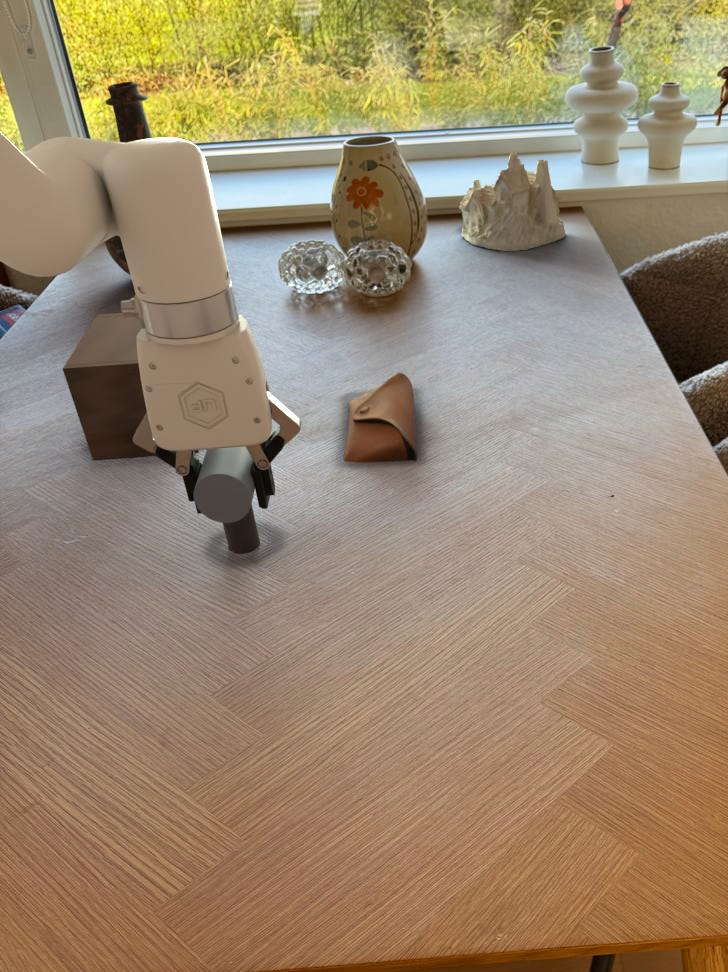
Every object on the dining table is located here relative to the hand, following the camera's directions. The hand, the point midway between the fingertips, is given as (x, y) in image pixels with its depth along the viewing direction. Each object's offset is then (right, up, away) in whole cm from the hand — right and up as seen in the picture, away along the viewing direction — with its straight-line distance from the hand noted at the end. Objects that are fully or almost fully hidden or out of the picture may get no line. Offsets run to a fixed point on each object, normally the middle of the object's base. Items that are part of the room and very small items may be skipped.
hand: (234, 501), depth 89 cm
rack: (-16, +13, +26) cm, 34 cm away
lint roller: (0, -5, +4) cm, 6 cm away
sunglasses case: (+11, +11, +22) cm, 27 cm away
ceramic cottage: (+29, +58, +79) cm, 102 cm away
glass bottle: (-28, +47, +70) cm, 89 cm away
